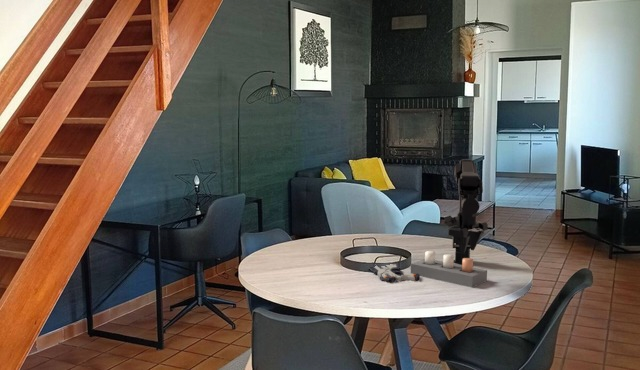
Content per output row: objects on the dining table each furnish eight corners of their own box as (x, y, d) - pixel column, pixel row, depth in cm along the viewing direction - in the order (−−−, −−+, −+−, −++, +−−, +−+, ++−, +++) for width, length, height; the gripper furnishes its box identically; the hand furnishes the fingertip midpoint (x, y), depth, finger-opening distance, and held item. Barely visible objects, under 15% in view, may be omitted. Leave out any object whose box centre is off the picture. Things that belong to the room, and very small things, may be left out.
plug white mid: (446, 266, 234) (446, 253, 233) (455, 268, 231) (455, 255, 230) (441, 268, 231) (441, 255, 230) (450, 270, 228) (450, 257, 228)
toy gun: (422, 282, 228) (384, 286, 224) (401, 267, 246) (366, 270, 242) (423, 274, 227) (385, 278, 223) (401, 260, 246) (366, 263, 242)
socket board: (426, 268, 244) (426, 258, 244) (486, 280, 227) (487, 270, 226) (410, 273, 236) (410, 263, 236) (472, 287, 219) (472, 276, 218)
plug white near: (428, 263, 239) (428, 250, 238) (436, 264, 236) (437, 252, 236) (422, 265, 236) (423, 252, 236) (431, 266, 234) (431, 253, 233)
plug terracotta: (465, 270, 228) (465, 257, 228) (474, 272, 226) (475, 259, 225) (460, 272, 226) (460, 259, 225) (469, 274, 223) (469, 261, 222)
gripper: (462, 204, 235) (461, 244, 237) (435, 210, 221) (434, 253, 223) (489, 207, 227) (487, 248, 229) (463, 214, 214) (462, 258, 216)
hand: (467, 251), depth 225 cm, fingers open, 7 cm apart
